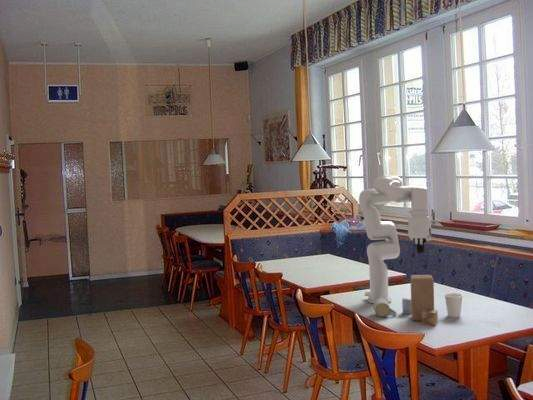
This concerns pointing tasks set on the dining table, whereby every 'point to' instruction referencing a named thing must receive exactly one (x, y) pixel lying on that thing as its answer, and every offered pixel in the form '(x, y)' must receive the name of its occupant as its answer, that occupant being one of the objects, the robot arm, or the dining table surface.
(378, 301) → the ceramic mug
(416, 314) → the block
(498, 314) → the dining table surface
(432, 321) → the walnut cube
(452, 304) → the dixie cup
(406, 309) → the bluegrey post
